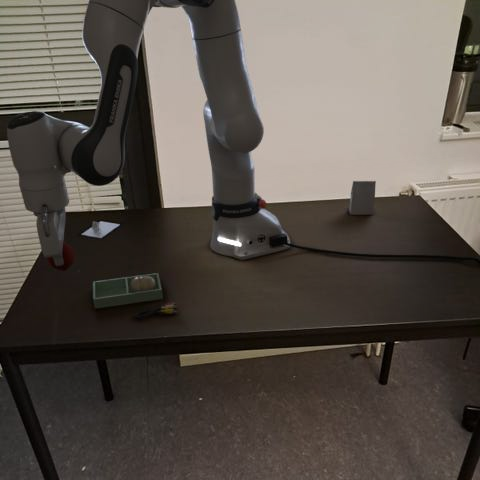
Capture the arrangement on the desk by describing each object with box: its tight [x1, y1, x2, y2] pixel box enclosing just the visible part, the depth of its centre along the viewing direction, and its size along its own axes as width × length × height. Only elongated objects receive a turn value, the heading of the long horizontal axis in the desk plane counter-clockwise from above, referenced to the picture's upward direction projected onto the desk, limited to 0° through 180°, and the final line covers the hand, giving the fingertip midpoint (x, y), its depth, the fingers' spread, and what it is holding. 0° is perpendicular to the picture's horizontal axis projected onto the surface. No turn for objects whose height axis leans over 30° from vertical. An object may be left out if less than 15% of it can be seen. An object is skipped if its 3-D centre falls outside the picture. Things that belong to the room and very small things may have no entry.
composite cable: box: [134, 302, 179, 320], centre depth 117 cm, size 10×5×2 cm, turn 95°
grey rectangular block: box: [348, 180, 377, 216], centre depth 158 cm, size 4×7×10 cm, turn 87°
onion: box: [46, 241, 76, 272], centre depth 113 cm, size 6×6×8 cm
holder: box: [92, 272, 164, 309], centre depth 123 cm, size 16×8×3 cm, turn 103°
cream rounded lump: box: [131, 275, 156, 292], centre depth 123 cm, size 6×4×4 cm
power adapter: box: [90, 221, 102, 233], centre depth 153 cm, size 3×3×3 cm
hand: (60, 256), depth 114 cm, fingers closed on onion, 6 cm apart
